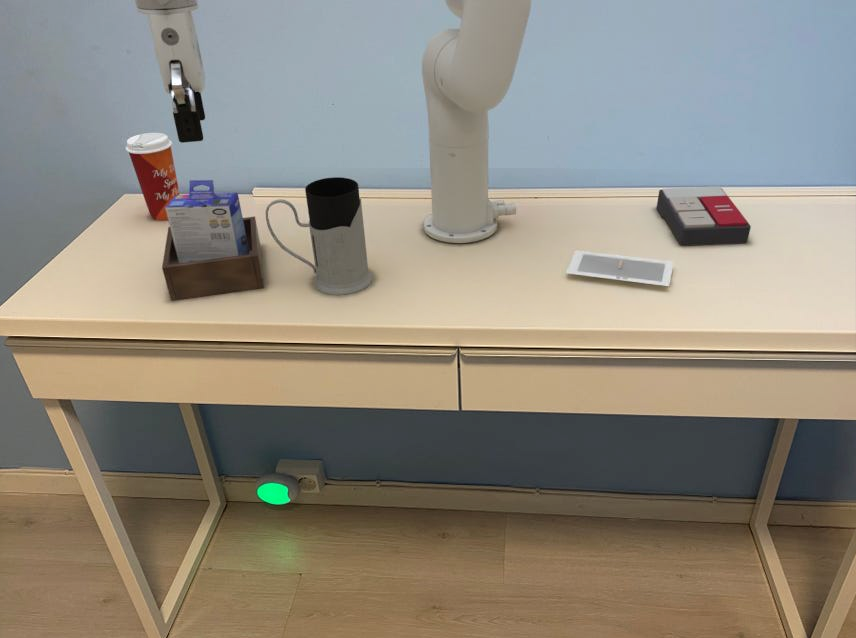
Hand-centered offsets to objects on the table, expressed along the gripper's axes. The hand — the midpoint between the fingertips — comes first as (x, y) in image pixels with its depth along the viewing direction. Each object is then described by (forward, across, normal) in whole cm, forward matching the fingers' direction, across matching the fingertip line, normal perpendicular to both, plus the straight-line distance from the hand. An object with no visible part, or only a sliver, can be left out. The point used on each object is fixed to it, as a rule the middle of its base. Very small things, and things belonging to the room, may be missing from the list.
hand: (193, 130), depth 106 cm
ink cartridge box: (+22, 0, 0) cm, 23 cm away
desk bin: (+22, 0, 0) cm, 22 cm away
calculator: (+21, -7, -79) cm, 82 cm away
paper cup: (+23, +26, +10) cm, 36 cm away
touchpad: (+22, -19, -59) cm, 66 cm away
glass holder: (+22, -8, -16) cm, 28 cm away
